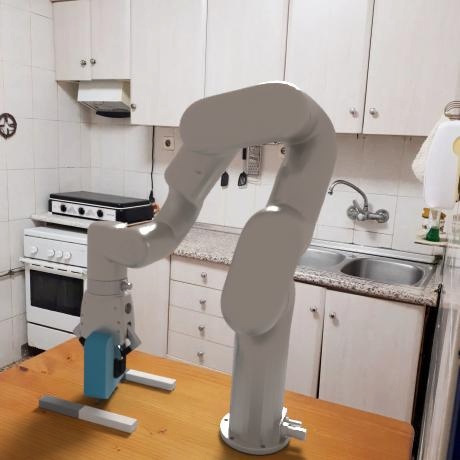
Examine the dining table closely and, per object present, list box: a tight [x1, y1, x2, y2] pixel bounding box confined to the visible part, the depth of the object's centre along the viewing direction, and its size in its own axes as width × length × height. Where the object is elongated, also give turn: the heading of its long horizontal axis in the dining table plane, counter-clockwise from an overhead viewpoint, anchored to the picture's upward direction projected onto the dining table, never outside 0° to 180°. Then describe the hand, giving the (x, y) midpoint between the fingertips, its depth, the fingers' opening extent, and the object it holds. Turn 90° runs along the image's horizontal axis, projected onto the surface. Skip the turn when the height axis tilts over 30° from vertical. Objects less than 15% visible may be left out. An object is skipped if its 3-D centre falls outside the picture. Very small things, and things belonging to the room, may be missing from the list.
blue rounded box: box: [83, 332, 124, 400], centre depth 92 cm, size 12×4×12 cm, turn 176°
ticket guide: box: [38, 367, 177, 434], centre depth 92 cm, size 20×18×2 cm
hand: (105, 371), depth 92 cm, fingers closed on blue rounded box, 5 cm apart
